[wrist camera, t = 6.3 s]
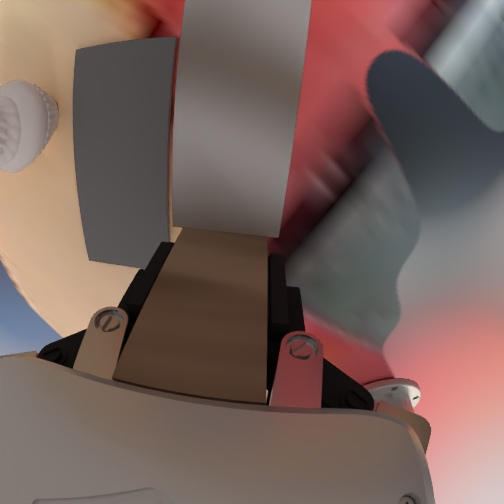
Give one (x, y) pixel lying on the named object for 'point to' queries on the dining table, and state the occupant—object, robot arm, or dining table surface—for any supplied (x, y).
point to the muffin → (24, 124)
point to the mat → (123, 147)
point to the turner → (223, 201)
